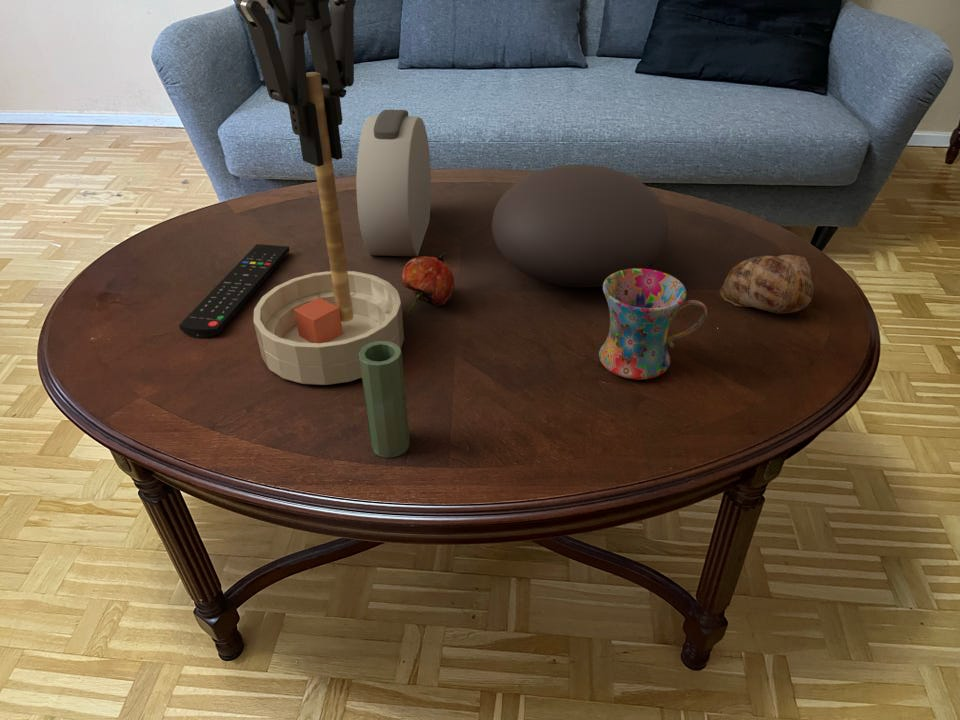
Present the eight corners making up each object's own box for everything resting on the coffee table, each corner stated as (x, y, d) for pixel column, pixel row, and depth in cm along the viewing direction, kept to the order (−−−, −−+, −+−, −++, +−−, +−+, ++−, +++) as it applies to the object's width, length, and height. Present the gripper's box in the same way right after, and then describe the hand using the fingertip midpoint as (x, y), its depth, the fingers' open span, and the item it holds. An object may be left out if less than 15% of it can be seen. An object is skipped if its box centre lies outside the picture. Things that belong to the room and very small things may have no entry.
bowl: (323, 408, 81) (315, 365, 77) (234, 350, 90) (224, 310, 87) (432, 341, 91) (429, 301, 88) (342, 295, 101) (337, 257, 97)
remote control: (290, 254, 111) (288, 246, 110) (217, 340, 92) (214, 331, 91) (258, 251, 112) (256, 244, 111) (179, 336, 93) (176, 327, 92)
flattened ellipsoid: (473, 244, 113) (472, 152, 105) (620, 225, 118) (630, 136, 109) (519, 326, 94) (521, 222, 85) (692, 300, 99) (711, 198, 90)
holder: (389, 463, 73) (378, 370, 66) (363, 446, 76) (350, 353, 69) (417, 443, 76) (409, 351, 69) (391, 427, 78) (381, 336, 71)
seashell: (785, 274, 103) (817, 237, 93) (798, 332, 99) (833, 298, 90) (713, 276, 102) (738, 238, 93) (724, 334, 99) (750, 300, 90)
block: (318, 347, 89) (313, 320, 87) (298, 335, 92) (293, 309, 89) (343, 333, 92) (339, 307, 90) (323, 323, 94) (319, 296, 92)
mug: (594, 383, 84) (602, 306, 78) (595, 339, 91) (603, 265, 85) (699, 392, 82) (716, 314, 76) (692, 346, 90) (706, 272, 84)
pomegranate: (436, 335, 96) (479, 276, 97) (402, 308, 91) (448, 245, 92) (407, 317, 102) (448, 261, 102) (373, 290, 97) (417, 231, 97)
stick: (344, 323, 91) (309, 77, 73) (334, 318, 92) (297, 74, 74) (356, 317, 92) (324, 74, 74) (346, 312, 93) (312, 70, 75)
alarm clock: (390, 209, 125) (380, 92, 113) (433, 210, 124) (426, 92, 112) (364, 267, 107) (348, 137, 96) (413, 269, 107) (403, 137, 95)
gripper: (326, -97, 72) (352, 135, 86) (191, -86, 63) (245, 170, 77) (375, -94, 68) (395, 148, 82) (240, -82, 59) (287, 188, 73)
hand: (322, 159), depth 80 cm, fingers closed on stick, 2 cm apart
